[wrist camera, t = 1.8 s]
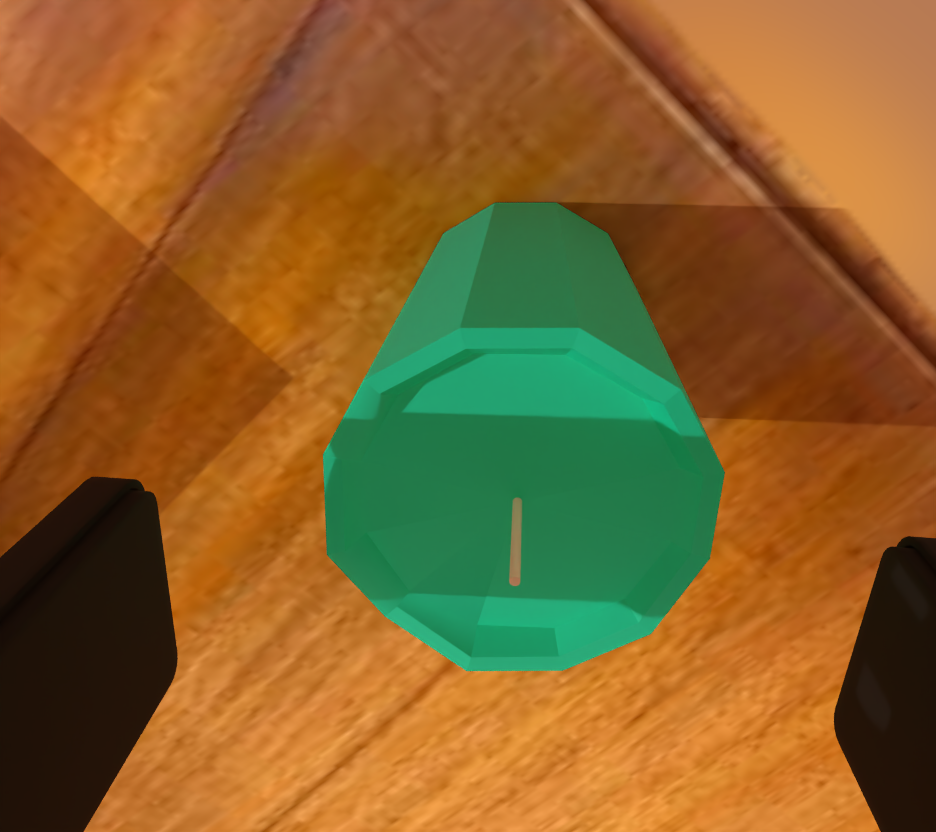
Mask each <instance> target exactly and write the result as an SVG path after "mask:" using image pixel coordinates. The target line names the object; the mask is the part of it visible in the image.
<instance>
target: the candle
mask: <svg viewBox="0 0 936 832" xmlns="http://www.w3.org/2000/svg"><path fill="white" fill-rule="evenodd" d="M323 466H324V492H325V517H326V543H327V555H328V556H329V558H330V559H331V560H332V561H333V562H334V563H335V564H336V565H337V566H338V567H339V568H340V569H341V570H342V571H343V572H344V573H345V575H346V576H347V577H348V578H349V579H350V580H351V581H352V582H353V583H354V584H355V585H356V586H357V587H358V588H359V589H360V590H361V591H362V593H363V594H364V595H365V596H366V597H367V598H368V599H369V600H370V601H371V602H372V603H373V604H374V605H375V606H376V607H377V608H378V609H379V611H380V612H381V613H382V614H383V615H384V616H385V617H387V618H388V619H390V620H391V621H393V622H394V623H396V624H397V625H399V626H400V627H402V628H403V629H405V630H406V631H408V632H409V633H411V634H412V635H414V636H415V637H417V638H418V639H420V640H421V641H422V642H424V643H425V644H427V645H428V646H430V647H431V648H433V649H434V650H436V651H437V652H439V653H440V654H442V655H443V656H445V657H446V658H448V659H449V660H451V661H452V662H454V663H455V664H457V665H458V666H460V667H461V668H463V669H464V670H466V671H563V670H565V669H568V668H570V667H573V666H575V665H577V664H580V663H582V662H585V661H587V660H589V659H592V658H594V657H597V656H599V655H601V654H604V653H606V652H609V651H611V650H613V649H616V648H618V647H621V646H623V645H625V644H628V643H630V642H633V641H635V640H638V639H640V638H642V637H645V636H647V635H650V634H651V633H652V632H653V631H654V629H655V628H656V627H657V626H658V624H659V623H660V622H661V620H662V619H663V618H664V617H665V615H666V614H667V613H668V612H669V610H670V609H671V608H672V606H673V605H674V604H675V603H676V601H677V600H678V599H679V597H680V596H681V595H682V594H683V592H684V591H685V590H686V588H687V587H688V586H689V585H690V583H691V582H692V581H693V579H694V578H695V577H696V576H697V574H698V573H699V572H700V570H701V569H702V568H703V567H704V565H705V564H706V563H707V561H708V560H709V559H710V554H711V548H712V543H713V537H714V531H715V525H716V520H717V514H718V508H719V502H720V497H721V491H722V485H723V480H724V474H725V472H724V470H723V468H722V466H721V464H720V461H719V459H718V457H717V455H716V453H715V451H714V449H713V447H712V445H711V443H710V441H709V439H708V437H707V434H706V432H705V430H704V428H703V426H702V424H701V422H700V420H699V418H698V416H697V414H696V412H695V409H694V407H693V405H692V403H691V401H690V399H689V397H688V395H687V393H686V391H685V389H684V387H683V384H682V382H681V380H680V378H679V376H678V374H677V372H676V370H675V368H674V366H673V364H672V362H671V359H670V357H669V355H668V353H667V351H666V349H665V347H664V345H663V343H662V341H661V339H660V337H659V335H658V332H657V330H656V328H655V326H654V324H653V322H652V320H651V318H650V316H649V314H648V312H647V310H646V307H645V305H644V303H643V301H642V299H641V297H640V295H639V293H638V291H637V289H636V287H635V285H634V283H633V281H632V279H631V277H630V275H629V273H628V271H627V269H626V267H625V265H624V263H623V261H622V259H621V258H620V256H619V254H618V252H617V250H616V248H615V246H614V244H613V242H612V240H611V238H610V236H609V234H608V233H607V232H605V231H603V230H601V229H600V228H598V227H596V226H595V225H593V224H591V223H590V222H588V221H586V220H585V219H583V218H581V217H580V216H578V215H576V214H575V213H573V212H571V211H570V210H568V209H566V208H565V207H563V206H561V205H560V204H558V203H556V202H535V203H494V204H492V205H490V206H488V207H487V208H485V209H483V210H482V211H480V212H478V213H477V214H475V215H473V216H472V217H470V218H468V219H467V220H465V221H463V222H462V223H460V224H458V225H457V226H455V227H453V228H452V229H450V230H448V231H446V232H445V233H443V235H442V237H441V239H440V240H439V242H438V244H437V246H436V248H435V250H434V251H433V253H432V255H431V257H430V259H429V261H428V263H427V264H426V266H425V268H424V270H423V272H422V274H421V275H420V277H419V279H418V281H417V283H416V285H415V286H414V288H413V290H412V292H411V294H410V296H409V297H408V299H407V301H406V303H405V305H404V307H403V308H402V310H401V312H400V314H399V316H398V318H397V319H396V321H395V323H394V325H393V327H392V329H391V330H390V332H389V334H388V336H387V338H386V340H385V341H384V343H383V345H382V347H381V349H380V351H379V352H378V354H377V356H376V358H375V360H374V362H373V363H372V365H371V367H370V369H369V371H368V373H367V374H366V376H365V378H364V380H363V382H362V384H361V386H360V387H359V389H358V391H357V393H356V395H355V397H354V398H353V400H352V402H351V404H350V406H349V408H348V410H347V411H346V413H345V415H344V417H343V419H342V421H341V422H340V424H339V426H338V428H337V430H336V432H335V434H334V435H333V437H332V439H331V441H330V443H329V445H328V447H327V448H326V450H325V452H324V454H323Z"/></svg>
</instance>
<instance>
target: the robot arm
mask: <svg viewBox="0 0 936 832" xmlns="http://www.w3.org/2000/svg"><path fill="white" fill-rule="evenodd" d="M177 659H178V658H177V647H176V640H175V632H174V625H173V617H172V610H171V602H170V595H169V587H168V580H167V573H166V565H165V558H164V550H163V543H162V535H161V528H160V521H159V513H158V506H157V501H156V497H155V495H154V494H153V493H152V492H148V491H145V490H144V487H143V486H142V484H141V482H139V481H138V480H135V479H121V478H107V477H91V478H89V479H87V480H86V481H85V482H84V483H83V484H81V485H80V486H79V487H78V488H77V489H76V490H75V491H74V492H73V493H71V494H70V495H69V496H68V497H67V498H66V499H65V500H64V501H63V502H61V503H60V504H59V505H58V506H57V507H56V508H55V509H54V510H53V511H51V512H50V513H49V514H48V515H47V516H46V517H45V518H44V519H43V520H41V521H40V522H39V523H38V524H37V525H36V526H35V527H34V528H33V529H31V530H30V531H29V532H28V533H27V534H26V535H25V536H24V537H23V538H21V539H20V540H19V541H18V542H17V543H16V544H15V545H14V546H13V547H11V548H10V549H9V550H8V551H7V552H6V553H5V554H4V555H3V556H1V557H0V832H84V830H85V828H86V827H87V825H88V823H89V822H90V820H91V818H92V817H93V815H94V813H95V811H96V810H97V808H98V806H99V805H100V803H101V801H102V800H103V798H104V796H105V795H106V793H107V791H108V790H109V788H110V786H111V784H112V783H113V781H114V779H115V778H116V776H117V774H118V773H119V771H120V769H121V768H122V766H123V764H124V763H125V761H126V759H127V757H128V756H129V754H130V752H131V751H132V749H133V747H134V746H135V744H136V742H137V741H138V739H139V737H140V735H141V734H142V732H143V730H144V729H145V727H146V725H147V724H148V722H149V720H150V719H151V717H152V715H153V714H154V712H155V710H156V708H157V707H158V705H159V703H160V702H161V700H162V698H163V697H164V695H165V693H166V692H167V690H168V688H169V687H170V685H171V683H172V681H173V678H174V675H175V672H176V667H177ZM834 727H835V733H836V737H837V740H838V742H839V744H840V747H841V749H842V751H843V753H844V755H845V757H846V759H847V761H848V763H849V766H850V768H851V770H852V772H853V774H854V776H855V778H856V780H857V782H858V784H859V787H860V789H861V791H862V793H863V795H864V797H865V799H866V801H867V803H868V806H869V808H870V810H871V812H872V814H873V816H874V818H875V820H876V822H877V825H878V827H879V829H880V831H881V832H936V538H923V537H910V536H908V537H905V538H903V539H902V540H901V541H900V542H899V543H898V545H897V547H889V548H887V549H886V550H885V552H884V553H883V556H882V558H881V561H880V564H879V568H878V571H877V574H876V577H875V581H874V584H873V587H872V590H871V594H870V597H869V600H868V603H867V607H866V610H865V613H864V617H863V620H862V623H861V626H860V630H859V633H858V636H857V639H856V643H855V646H854V649H853V652H852V656H851V659H850V662H849V665H848V669H847V672H846V675H845V678H844V682H843V685H842V688H841V692H840V695H839V698H838V701H837V705H836V708H835V713H834Z"/></svg>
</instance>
